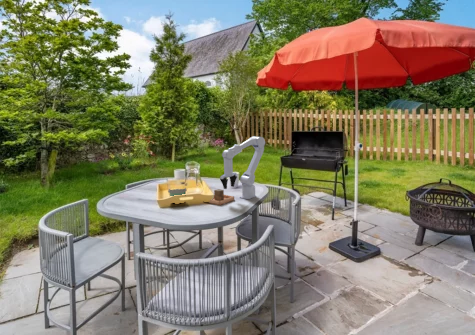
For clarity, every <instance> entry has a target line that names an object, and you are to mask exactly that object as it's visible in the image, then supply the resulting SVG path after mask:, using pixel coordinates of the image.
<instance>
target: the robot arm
mask: <svg viewBox="0 0 475 335" xmlns="http://www.w3.org/2000/svg"><path fill="white" fill-rule="evenodd" d="M265 145H266V141H265V138H264V137H262V136H255V135H253V136H251V137H249V138H248V139H247V140H245V141H244V142H242V143H240V144H234V145H233V146H232V147H229V148H228V149H225V150H223V152H222V153H221V157H222V158H223V170H224V172H223V173H224V174H222V175H221V176H219V181H220V182H221V184H222V187H223V190H227V189H228V182H229V181H230V186H231V187H235V184H236V180H237V178H238V176H237V172H234V171H233V170H234V168H233V166H234V165H233V158H234V157H235V156H237V155H238V154H239V153H242V150H243V149H245V148H248V147H249V146H252V147H253V148H254V153H253V156H252V158H251V160H250V163H249V165H248V167H247V169H246V170H245V172H243V174H242V175H241V176H240V179H239V181H240V183H241V190H242V192H241V193H242V195H241V196H239V198H240V199H246V200H251V199H253V198H256V197H257V195H256V187H255V185H254V183H255V179H256V175H255V172H256V170H257V167H258V165H259V163H260V160H261V159H262V156H263V154H264V151H265Z"/></svg>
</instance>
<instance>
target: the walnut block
mask: <svg viewBox="0 0 475 335" xmlns="http://www.w3.org/2000/svg"><path fill="white" fill-rule="evenodd" d="M224 190H225V189H220V188H217V189H214V190H213V191H214V194H213V195H214V197H215V200H217V201H221V200H224V195H225V194H224V193H225V192H224Z"/></svg>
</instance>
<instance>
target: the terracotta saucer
mask: <svg viewBox="0 0 475 335" xmlns="http://www.w3.org/2000/svg"><path fill="white" fill-rule="evenodd" d="M233 201H235V196H233V195H228V194H224V200H221V201H217V200H215V197H214V198H213V200H212V199H211V200H210V202H209V203H208V204H211V205H216V206H222V205H225V204H228V203H231V202H233Z"/></svg>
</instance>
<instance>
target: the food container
mask: <svg viewBox="0 0 475 335" xmlns="http://www.w3.org/2000/svg"><path fill="white" fill-rule="evenodd" d="M167 192H168V193H169V197H170V196H174V195H182V194H186V192H187V187H185V188H175V189H170V188H169V189H168V191H167ZM186 195H187V194H186Z"/></svg>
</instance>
